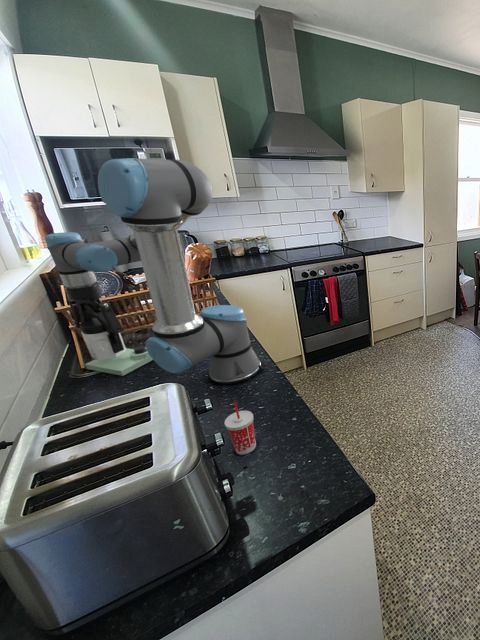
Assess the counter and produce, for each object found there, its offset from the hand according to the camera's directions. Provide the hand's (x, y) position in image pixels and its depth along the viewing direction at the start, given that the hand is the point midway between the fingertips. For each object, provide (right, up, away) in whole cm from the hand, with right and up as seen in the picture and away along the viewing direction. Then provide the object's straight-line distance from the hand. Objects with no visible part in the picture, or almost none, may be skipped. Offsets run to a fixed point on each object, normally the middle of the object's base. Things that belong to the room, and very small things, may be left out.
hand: (107, 349), depth 115 cm
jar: (0, -2, +1) cm, 2 cm away
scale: (+2, -5, +3) cm, 7 cm away
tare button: (+7, -1, +4) cm, 9 cm away
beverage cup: (+61, -22, -29) cm, 71 cm away
